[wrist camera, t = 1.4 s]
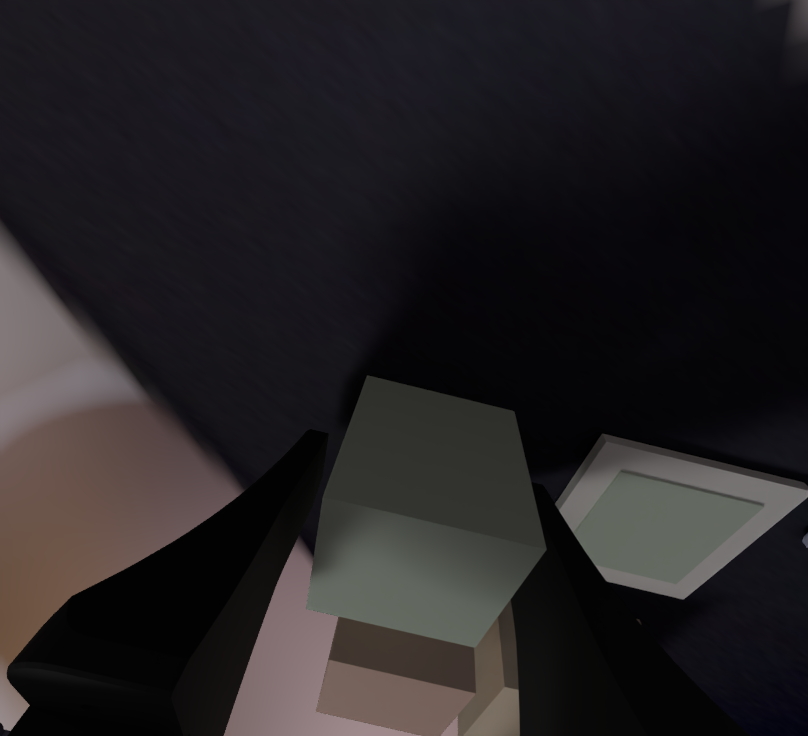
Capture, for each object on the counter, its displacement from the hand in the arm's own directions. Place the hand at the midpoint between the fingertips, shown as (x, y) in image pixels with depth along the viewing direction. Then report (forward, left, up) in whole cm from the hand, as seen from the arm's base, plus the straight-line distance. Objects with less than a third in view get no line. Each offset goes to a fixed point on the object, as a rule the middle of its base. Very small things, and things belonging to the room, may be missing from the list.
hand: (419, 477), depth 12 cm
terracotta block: (-1, +8, -2) cm, 8 cm away
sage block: (0, 0, -2) cm, 2 cm away
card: (-9, +1, -1) cm, 9 cm away
